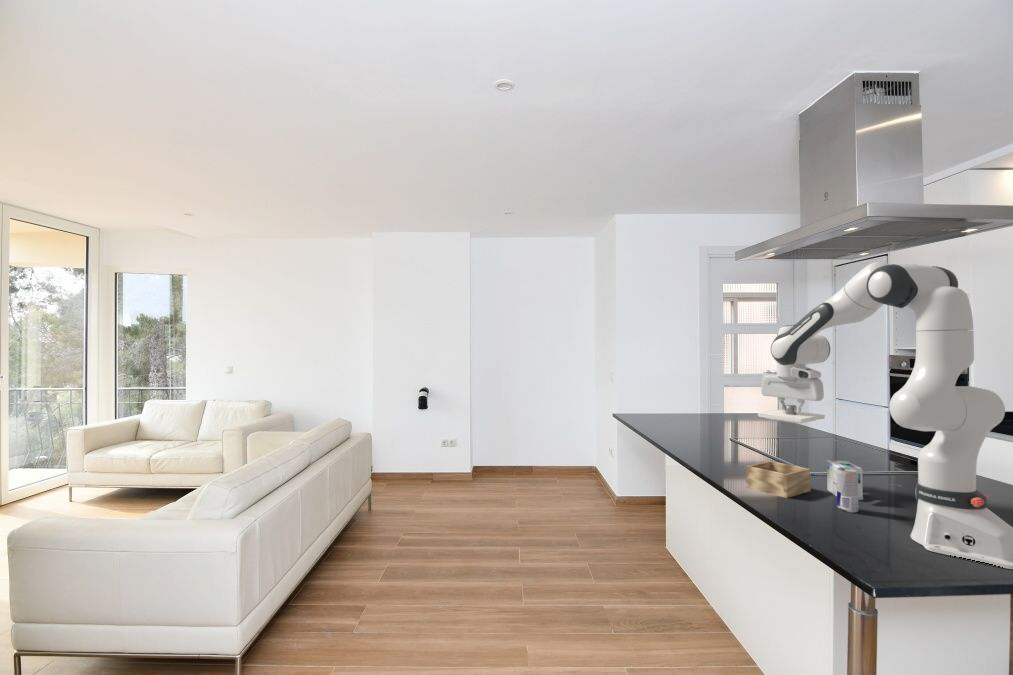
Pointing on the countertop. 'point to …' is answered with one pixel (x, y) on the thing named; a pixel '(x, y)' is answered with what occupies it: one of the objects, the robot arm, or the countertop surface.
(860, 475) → the light bulb box
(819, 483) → the countertop surface
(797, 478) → the box
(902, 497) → the countertop surface
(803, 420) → the lid
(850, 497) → the energy drink
